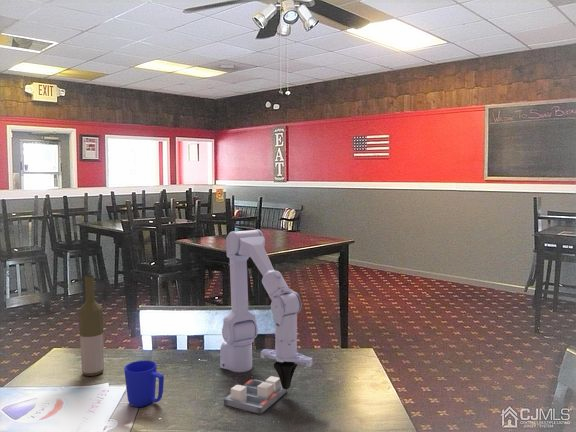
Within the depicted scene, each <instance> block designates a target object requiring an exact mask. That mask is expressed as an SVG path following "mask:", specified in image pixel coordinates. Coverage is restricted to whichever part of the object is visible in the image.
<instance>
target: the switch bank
mask: <svg viewBox="0 0 576 432" xmlns="http://www.w3.org/2000/svg"><path fill="white" fill-rule="evenodd" d="M262 382H265V383H266V380H265V381H264V380H259V379H255V378H251V379H249V380H248V381H246V382H244V384H243V385H242V386H246V387H247V402H241V401H237V400H233V399H231V393H230V394H229V395H227V396H226V397H225V398H223V404H224V406H229V407H233V408H236V409H240V410H244V411H248V412H252V413H257V414H263V413H264V412H265V411H266V410H267V409H269V407H271V406H272V405H274V404H275V402H277V401H278V400H279V399H281V397H282V396H283V395H285V394H286V393H287V392H288V391H287V390H288V389H287V390H286V389H282V385H281V388H280V389H279V390H278V391H276V392H273V394H272V395H271V396H269V398H268V399H266V398H262V397H258V396H257V386H258V385H260V384H261V383H262Z"/></svg>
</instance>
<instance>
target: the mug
mask: <svg viewBox="0 0 576 432" xmlns="http://www.w3.org/2000/svg"><path fill="white" fill-rule="evenodd" d="M157 366H158V365H157V363H156V362H154V361H152V360H137V361H132V362H130V363H128V364H126V365H125V366H124V367H123V370H124V378H125V380H124V381H125V386H126V395H127V401H128V403H129V405H130V406H132V407H135V408H142V407H147V406H149V405H151V404H152V403H157V402H159V401H161V400H162V397H163V393H164V381H165V376H164V374H162V373H160V372H157ZM157 378H158V391H157V392H158V395H157V398H156V386H157V383H156V382H157Z"/></svg>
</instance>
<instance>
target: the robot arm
mask: <svg viewBox="0 0 576 432" xmlns="http://www.w3.org/2000/svg"><path fill="white" fill-rule="evenodd" d="M265 245H266V239H265V236H264V234H263V232H262V230H260V229H256V228H255V229H251V230H249V229H248V230H241V231H234V230H233V231H230V232H228V235H227V236H226V238H225V249H226V257H227V258H229V274H230V275H229V277H230V303H231V305H230V306H231V310H230V311H229V313H228V314H227V315H226V316H224V317H223V321H222V322H223V324H222V328H221V333H222V338H223V342H222V343H221V346H220V350H219V363H220V364H219V365H220V366H219V367H220V368H221V369H224V370H229V371H231V372H233V373H246V372H249V371H250V370H252V369H253V343H254V342H255V338H257V336H258V334H259V327H258V324H257V319H256V315H255V314H254V313H252V312H251V311H249V288H248V287H249V286H248V262H247V261H248V260H249V258H250V259H251V260H252V261H253V264H254V265H255V266H256V267H257V269H258V271H259V272H260V274H261V275H262V279H261V283H262V286H263V288H264V289H265V291H266V293H267V294H268V297H269V299H270V301H271V303H270V309H271V313H272V316H273V317H272V318H273V322H274V323H275V324H274V327H275V330H274V333H275V334H274V335H275V338H274V339H275V340H274V341H275V342H274V343H275V344H274V345H275V348H274V349H269V348H268V349H267V348H264V349H262V350H261V351H260V358H261V359H269V360H275V363H273V368H274V370H275V371H276V372H277V375H278V378H280V381H281V385H282V389H286V390H289V388H291V383H292V380H293V376H294V374H295V371H296V369H297V367H298V365H299V366H300V365H301V366H305V367H306V368H311V367H312V366H313V357H309V356H307V355H304V354H301V353H300V352H298V314H300V312H301V310H302V300H301V297H300V295H299V294H298V292H296V291H294V290H293V289H291V288H290V287H289V286H288V284H287V282H286V280H285V279H284V276H283V275H282V273H281V271H278V270H276V269H274V267H273V265H272V262H271V260H270V257H269V256H268V255H269V254H268V253H267V251H266V249H265Z"/></svg>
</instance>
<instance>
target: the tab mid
mask: <svg viewBox="0 0 576 432" xmlns="http://www.w3.org/2000/svg"><path fill="white" fill-rule="evenodd" d="M265 382H266V381H265ZM265 382H262V383H261V384H260V385H258V386H257V396H258V397H262V398H266V399H268V398H269V396H271V395H272V394H273V384H270V383H265Z"/></svg>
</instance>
